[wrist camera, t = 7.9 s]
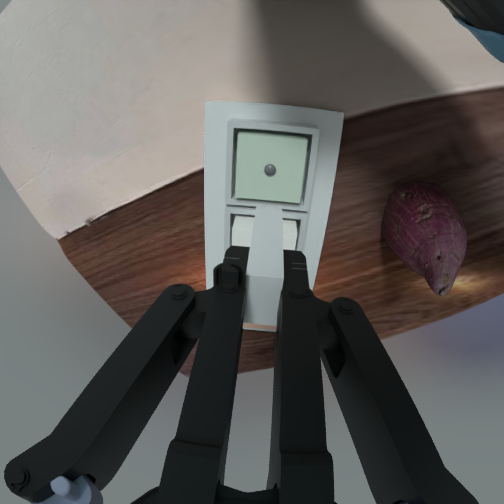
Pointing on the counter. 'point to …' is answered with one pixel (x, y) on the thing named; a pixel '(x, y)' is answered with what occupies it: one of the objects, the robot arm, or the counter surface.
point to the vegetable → (426, 233)
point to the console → (305, 213)
